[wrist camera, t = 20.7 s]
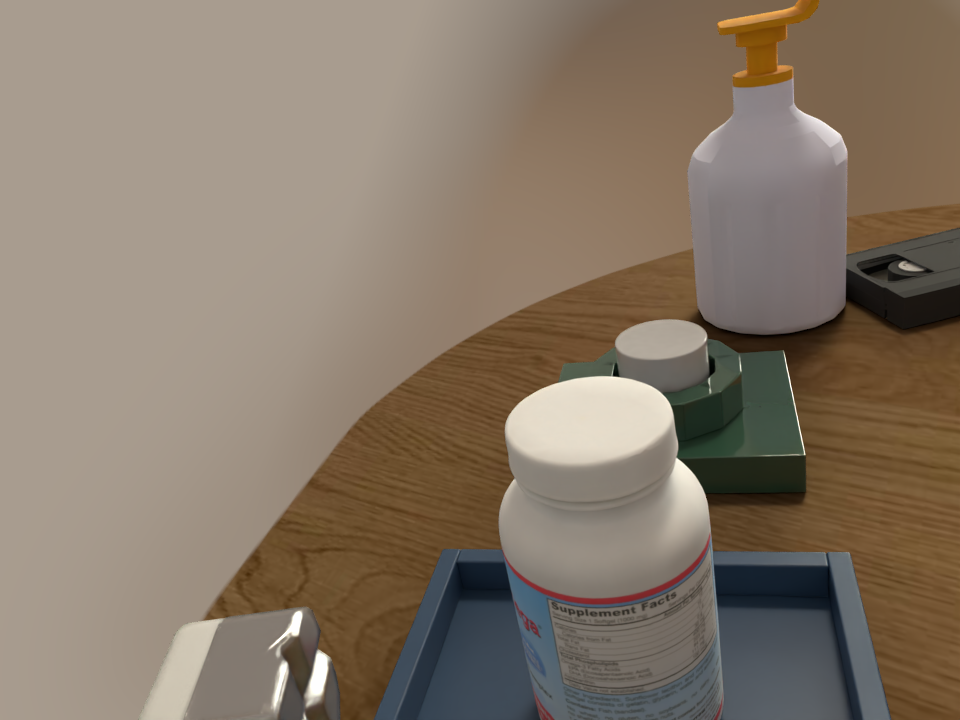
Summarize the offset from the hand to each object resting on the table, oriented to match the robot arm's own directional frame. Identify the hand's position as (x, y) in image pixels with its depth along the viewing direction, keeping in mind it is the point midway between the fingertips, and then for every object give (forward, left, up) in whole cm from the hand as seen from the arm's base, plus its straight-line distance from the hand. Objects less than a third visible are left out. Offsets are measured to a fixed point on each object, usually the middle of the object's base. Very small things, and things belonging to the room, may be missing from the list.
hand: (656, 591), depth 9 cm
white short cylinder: (-2, +29, -13) cm, 31 cm away
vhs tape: (+16, +46, -16) cm, 51 cm away
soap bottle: (+4, +44, -16) cm, 47 cm away
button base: (-2, +29, -16) cm, 33 cm away
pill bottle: (-3, +11, -16) cm, 20 cm away
